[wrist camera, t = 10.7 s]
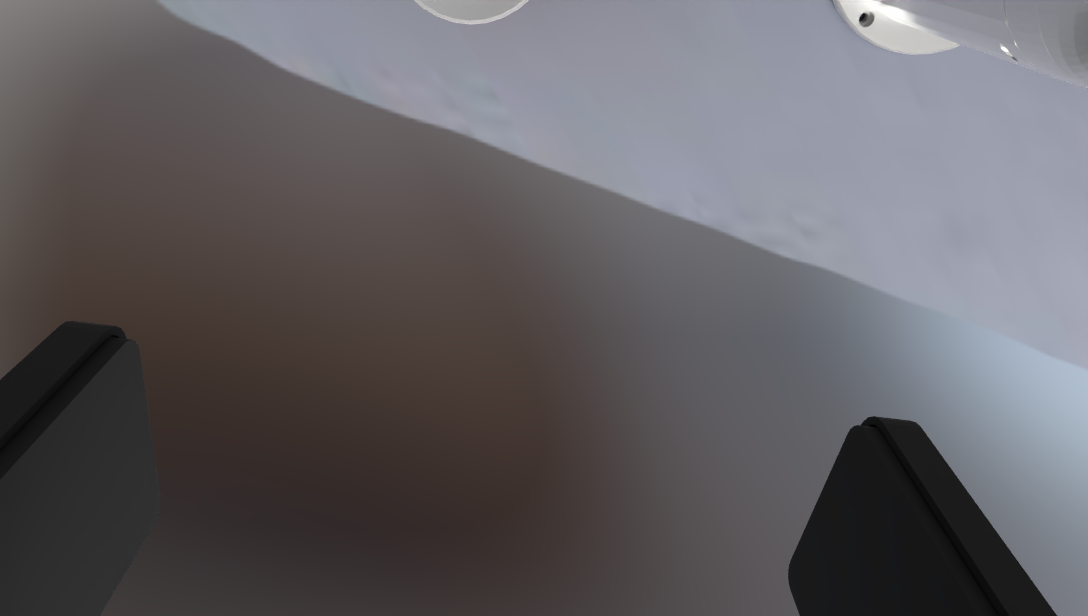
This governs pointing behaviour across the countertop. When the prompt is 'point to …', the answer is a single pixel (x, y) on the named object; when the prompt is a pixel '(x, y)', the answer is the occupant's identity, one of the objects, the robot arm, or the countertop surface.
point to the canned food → (471, 9)
